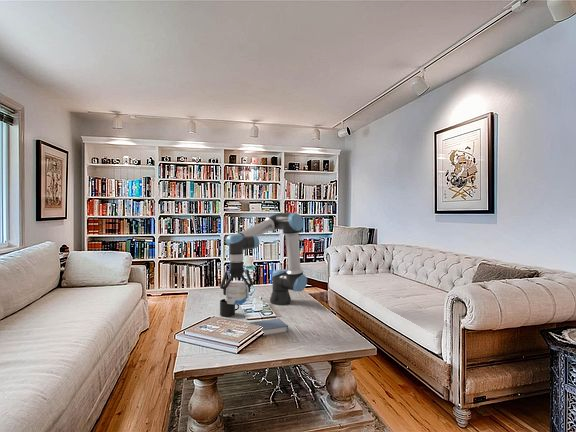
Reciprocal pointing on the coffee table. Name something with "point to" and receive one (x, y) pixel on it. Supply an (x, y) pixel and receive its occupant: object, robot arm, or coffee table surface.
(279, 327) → the book
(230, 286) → the ink box
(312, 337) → the coffee table surface
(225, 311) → the mug
